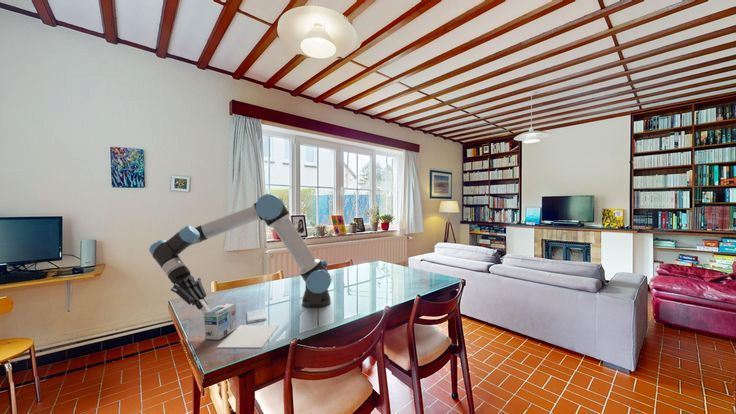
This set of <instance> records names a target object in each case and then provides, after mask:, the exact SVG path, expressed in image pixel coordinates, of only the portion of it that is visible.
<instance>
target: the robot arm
mask: <svg viewBox="0 0 736 414" xmlns="http://www.w3.org/2000/svg"><path fill="white" fill-rule="evenodd" d="M256 221H260V222H261V221H264V223H265V225H266V226H267V227H268V228H272V229H273V230H274V231H275V233H276V235H277V236H278V237H279V239H280V241H281V242H282V243H283V245H284V247H285V248H286V250H287V251H288V253H289V254H290V255H291V257H292V258H293V260H294V261H295V263H296V264H297V266H298V267H299V269H300V270H299V275H300V276H301V278H302V280H303V281H304V282H305V290H304V293H303V296H302V298H301V300H302V301H301V305H302V306H303V307H306V308H312V309H313V308H322V307H323V308H324V307H326V306H328V305H330V304H331V301H332V300H331V296H330V293H329V288H330V286H331V282H332V281H331V280H332V277H331V275H330V273H329V271H328V266H329V265H328V261H327V260H325V259H324V260H323V259H318V258H316V257H315V256H314V254H313V252H312V250H310V248H309V246H308V245H307V243H306V242H305V241H304V239H303V237H302V236H301V235H300V233H299V232H298V229H297V228H296V227H295V225H294V223H293V222H292V220H291V219H290V212H289V210H288V209H287V206H286V205H285V204H284V201H283V200H282V199H281V197H280V196H278V195H277V194H274V193H266V194H263V195H261V196H260V197H259V198H258V199H257V201H256V202H253V204H252V206H249V207H246V208H244V209H240V210H238V211H236V212H233V213H230V214H227V215H225V216H223V217H220V218H217V219H215V220H212V221H209V222H206V223H204V224H201V225H198V226H195V227H194V226H192V225H190V224H188V225H185V226H184V227H183V228H181V229H179V231H178V232H176V233H175V234H174V235H173V236H172V237H170V238H169V239H168V240H166V239H160V240H157V242H156V241H155V242H154V243H152V244H151V245H150V247H149V249H148V250H149V253H150V254H151V257H152V258H153V259H154V261H156V262H157V264H158V265H159V267H160V268H161V270H162V271H163V272H164V274H165V275H166V276H167V278H168V279H169V281H170V282H171V283H172V284H173V286H172V287H171V288H170V291H171V292H173V293H175V294H176V295H177V296H179V297H180V298H181V299H183V301H184V302H186V303H187V304H188V305H192V306H196V308H197V310H199V311H201V313H202V315H204V312H206V311H208V310H210V309H211V308H210V307H209V305H208V303H207V301H206V299H205V298H206V297H207V292H206V291H205V288H204V287H203V284H202V280H201V279H202V278H201V277H198V278H195V277H194V276H192V275H191V270H190V269H189V268H188V267H187V265H186V264H185V263H184V262H183V259H182V258H181V257H180V256H179V255H180V254H181V253H182V252H184V251H185V250H187V248H189V247H191V246H193V245H195V244H200V243H201V242H204V241H207V240H209V239H212V238H214V237H216V236H217V237H218V236H219V235H221V234H224V233H227V232H230V231H232V230H235V229H237V228H240V227H242V226H246V225H248V224H250V223H253V222H256Z"/></svg>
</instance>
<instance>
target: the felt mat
mask: <svg viewBox="0 0 736 414" xmlns="http://www.w3.org/2000/svg"><path fill="white" fill-rule="evenodd" d="M279 326H280V325H279V324H277V325H276V324H267V325H266V324H240V325H239V326H238V327H236V329H235V330H234V331H232V332H231V333H229V334H228V336H227V337H226V338H225V339H223V340H222V341H221V342H220V343H219V344H218V345H217V346H216V349H262V348H264V346H265V345H266V344H267V342H268V341H269V339H270V338H271V337H272V336H273V334H274V333H275V332H276V331H277V329H278V328H279Z"/></svg>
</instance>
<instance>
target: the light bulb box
mask: <svg viewBox="0 0 736 414" xmlns="http://www.w3.org/2000/svg"><path fill="white" fill-rule="evenodd" d="M236 305H237V304H236V303H222V302H221V303H220V304H219V305H217V306H214V307H212V308H210V310H208V311H206V312H204V314H203V316H204V317H203V318H204V339H205V340H215V341H218V340H221V339H223V338H224V337H226V336H227V335H228V336H229V335H230V334H231V333H232V332H233V331H235V330H236V329H237V309H236Z"/></svg>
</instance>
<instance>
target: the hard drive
mask: <svg viewBox="0 0 736 414" xmlns="http://www.w3.org/2000/svg"><path fill="white" fill-rule="evenodd" d="M246 321H247V322H246V323H247V324H251V323H258V322H264V321H265V322H266V321H267V314H266V310H265V308H262V309H256V310H255V309H253V310H249V311H247V312H246Z"/></svg>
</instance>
